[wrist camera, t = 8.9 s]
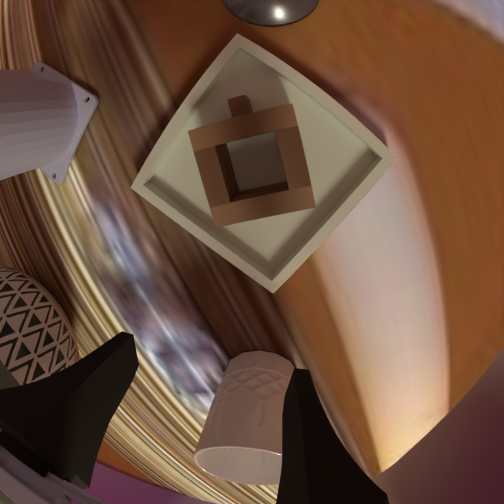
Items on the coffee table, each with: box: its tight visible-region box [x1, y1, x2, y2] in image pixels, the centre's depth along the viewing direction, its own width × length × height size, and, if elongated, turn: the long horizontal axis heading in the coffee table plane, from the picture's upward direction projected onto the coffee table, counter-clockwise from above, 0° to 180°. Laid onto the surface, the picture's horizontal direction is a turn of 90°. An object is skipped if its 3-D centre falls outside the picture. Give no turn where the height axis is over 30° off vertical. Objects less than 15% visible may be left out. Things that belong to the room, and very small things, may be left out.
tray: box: [131, 33, 397, 293], centre depth 17 cm, size 12×12×2 cm
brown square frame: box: [188, 95, 316, 228], centre depth 16 cm, size 6×7×3 cm
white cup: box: [193, 351, 295, 485], centre depth 21 cm, size 8×8×10 cm
